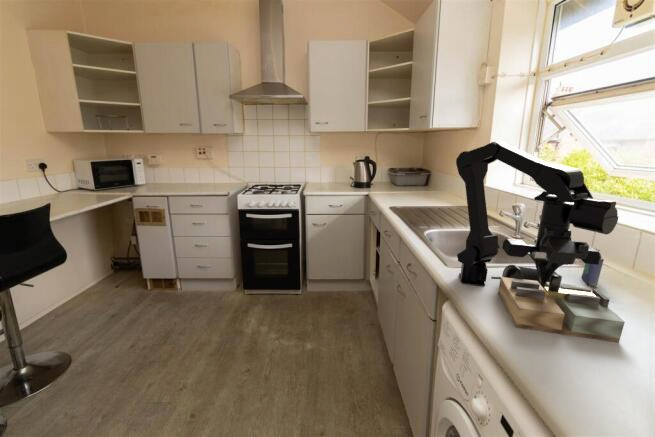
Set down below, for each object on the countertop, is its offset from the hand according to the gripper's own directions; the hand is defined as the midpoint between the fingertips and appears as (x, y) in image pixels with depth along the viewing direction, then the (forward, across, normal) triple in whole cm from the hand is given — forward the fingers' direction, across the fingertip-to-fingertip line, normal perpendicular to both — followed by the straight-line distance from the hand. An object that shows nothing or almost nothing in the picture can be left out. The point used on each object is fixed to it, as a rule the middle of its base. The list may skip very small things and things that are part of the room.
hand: (542, 283), depth 77 cm
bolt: (+3, +6, 0) cm, 7 cm away
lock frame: (+8, +3, 0) cm, 9 cm away
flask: (+8, +22, +25) cm, 34 cm away
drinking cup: (+6, +9, +17) cm, 20 cm away
